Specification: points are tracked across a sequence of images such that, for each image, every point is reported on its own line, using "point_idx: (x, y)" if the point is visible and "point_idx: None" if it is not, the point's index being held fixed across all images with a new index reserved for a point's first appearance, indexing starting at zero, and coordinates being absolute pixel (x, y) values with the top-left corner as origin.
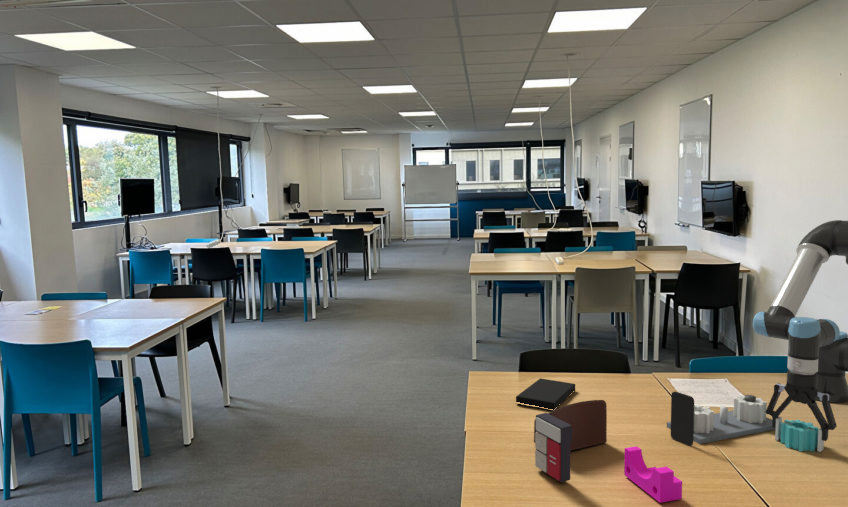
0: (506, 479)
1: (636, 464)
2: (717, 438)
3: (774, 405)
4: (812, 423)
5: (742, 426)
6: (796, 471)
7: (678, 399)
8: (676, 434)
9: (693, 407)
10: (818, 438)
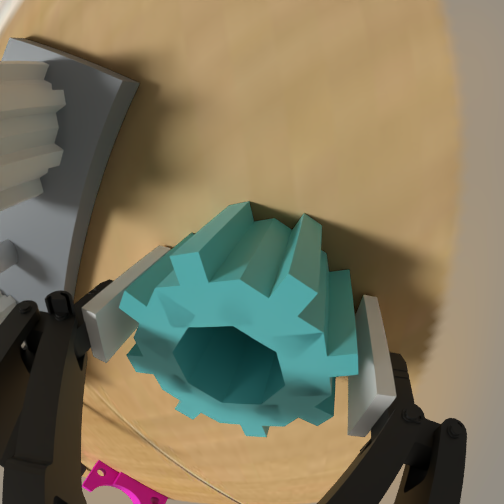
0: None
1: (103, 485)
2: None
3: (16, 369)
4: (313, 291)
5: (42, 252)
6: (280, 459)
7: None
8: None
9: None
10: (350, 387)
